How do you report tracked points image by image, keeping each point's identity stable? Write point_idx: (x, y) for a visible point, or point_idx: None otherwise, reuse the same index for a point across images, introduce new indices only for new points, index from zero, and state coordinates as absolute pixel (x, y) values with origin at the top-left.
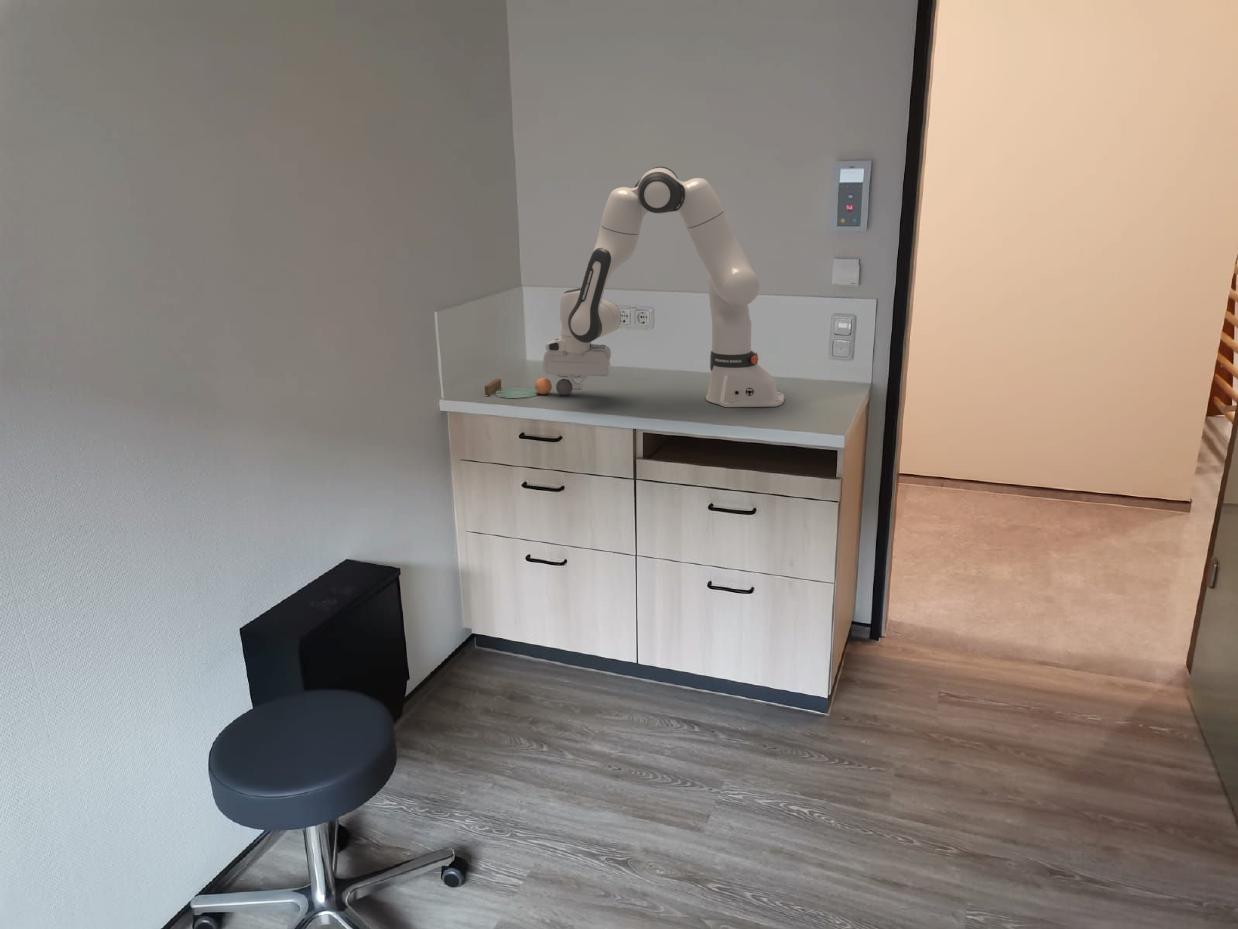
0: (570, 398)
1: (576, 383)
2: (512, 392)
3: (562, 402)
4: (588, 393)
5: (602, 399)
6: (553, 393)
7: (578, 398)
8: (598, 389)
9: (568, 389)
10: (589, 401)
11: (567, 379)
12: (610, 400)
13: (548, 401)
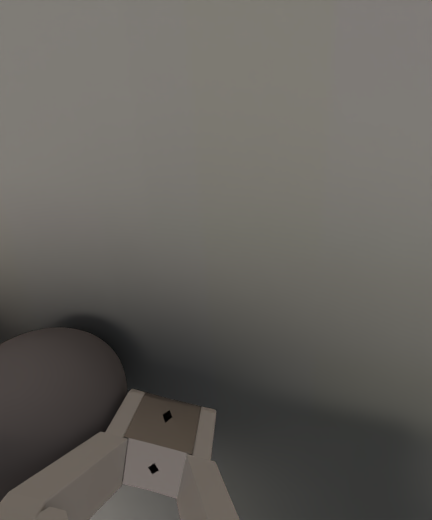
0: None
1: (141, 458)
2: None
3: (115, 497)
4: (261, 329)
5: (359, 486)
6: (3, 302)
7: None
8: (359, 198)
9: None
10: (270, 508)
11: (9, 485)
12: (412, 513)
13: None
